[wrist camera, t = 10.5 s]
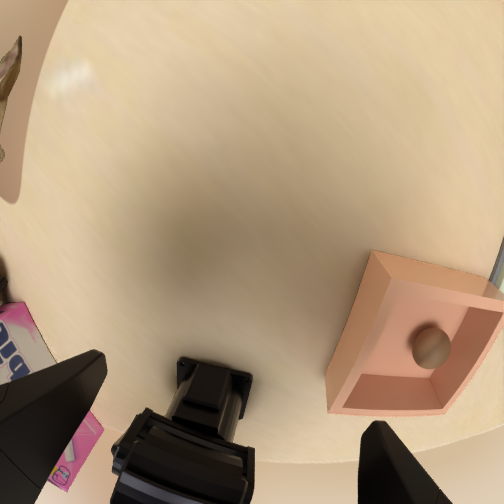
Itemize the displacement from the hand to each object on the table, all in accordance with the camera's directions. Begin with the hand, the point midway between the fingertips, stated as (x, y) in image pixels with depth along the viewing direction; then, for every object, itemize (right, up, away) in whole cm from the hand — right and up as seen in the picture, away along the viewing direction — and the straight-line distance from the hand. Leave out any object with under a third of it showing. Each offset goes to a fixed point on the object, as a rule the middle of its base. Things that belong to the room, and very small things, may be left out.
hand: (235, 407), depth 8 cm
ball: (+14, -3, +9) cm, 17 cm away
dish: (+13, -1, +11) cm, 17 cm away
